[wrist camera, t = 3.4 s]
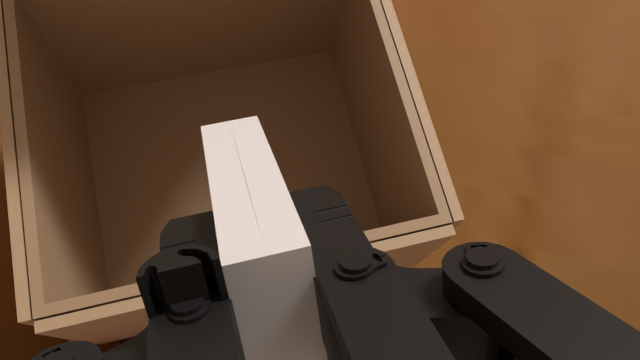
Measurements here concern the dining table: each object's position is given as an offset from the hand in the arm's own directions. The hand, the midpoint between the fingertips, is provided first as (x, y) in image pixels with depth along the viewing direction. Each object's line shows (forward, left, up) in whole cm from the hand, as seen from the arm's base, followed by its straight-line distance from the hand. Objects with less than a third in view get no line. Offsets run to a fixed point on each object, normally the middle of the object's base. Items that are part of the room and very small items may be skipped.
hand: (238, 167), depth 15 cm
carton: (0, -10, -29) cm, 31 cm away
